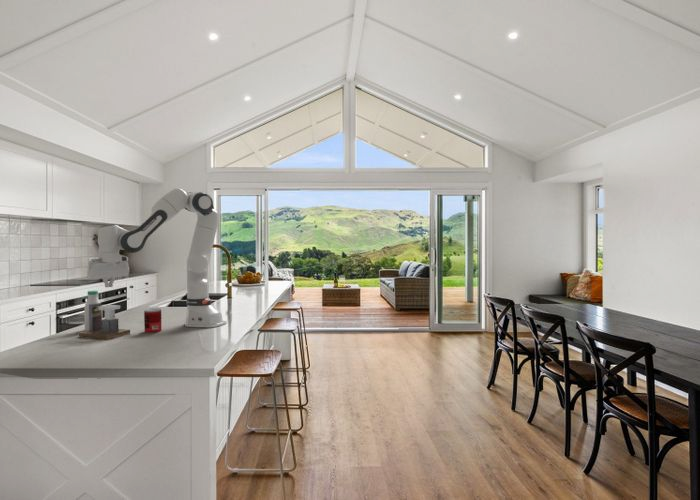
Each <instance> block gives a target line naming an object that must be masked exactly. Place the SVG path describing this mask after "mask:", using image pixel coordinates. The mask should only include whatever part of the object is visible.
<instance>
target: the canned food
mask: <svg viewBox="0 0 700 500" xmlns="http://www.w3.org/2000/svg"><path fill="white" fill-rule="evenodd" d="M143 317H144V318H143V320H144V322H143V325H144V332H145V333H147V334H151V333H152V334H155V333H160V332H161V331H162V309H161V308H157V307H155V308H147V309H144V311H143Z"/></svg>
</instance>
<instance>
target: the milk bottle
mask: <svg viewBox="0 0 700 500" xmlns="http://www.w3.org/2000/svg"><path fill="white" fill-rule="evenodd" d="M95 303H101V301H100V299H99V291H98V290H89V291H87V300H86V303H85V304H84V314H83V315H84V331H89V304H95ZM101 312H102V313H103V310H101ZM101 320H103V314H102V315H101Z"/></svg>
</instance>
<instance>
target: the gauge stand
mask: <svg viewBox="0 0 700 500" xmlns="http://www.w3.org/2000/svg"><path fill="white" fill-rule="evenodd" d="M96 306H102V303H101V302H100V303H95V304H89V331H85V330H84V331H80V332H78V338H86V339H92V340H93V339H95V340H103V341H108V340H112V339H113V340H114V339H116V338H120V337H124V336H128V335H130V334H131V329H126V328H125V329H124V328H119V318H115V319H114V320H105V318H104V319H102V320H101V315H102V316H103V311H102V312H101V310H100V311H94V309H96Z"/></svg>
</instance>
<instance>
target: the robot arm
mask: <svg viewBox="0 0 700 500" xmlns="http://www.w3.org/2000/svg"><path fill="white" fill-rule="evenodd" d="M214 207H215V206H214V201H213V198H212V196H211V195H210V194H208V193H207V192H204V191H193V192H186V191H185V190H184V189H182V188H179V187H176V188H173V189H171V190H170V191H168V192H166V193H165V194H164V195H163V196H162V197H160V198H158V200H157V201H156V202H155V203H154V205H153V206H152V207H151V213H150V215H149V216H148V218H147V219H145V221H144V222H142V223H141V225H138V227H137V228H136V229H134V230H127V229H125V228H123V227H120V226H119V225H118V224H113V223H112V224H105V225H102V226H100V228H99V229H98V232H97V233H98V234H97V244H98V250H97V258H92V259H90V260H89V261H88V267H87V274H86V276H87V278H88V279H89V280H98V279H99V280H100V279H102V282H103V283H104V287H105V288H113V287H114V282H115V280H116V278H119V277H120V278H121V277H128V276H129V274H130V265H129V262H128V261H129V257H128V256H125V255H123V254H120V250H123V251H125V252H127V253H130V254H135V253H139V252H140V251H142V250H143V248H144V246H145V245H146V243H147V242H146V241H147V240H148V238H149V237H150V236H152V234H153V233H154V232H156V230H157V229H159V228H160V227H161V226H162V225H164V224H165V223H167V222H169V221H170V220H172V219H173V218H174V217H176V216H177V215H178V214H179V213H180V212H181V211H182V210H187V211H188V212H191V213H196V215H197V221H196V223H195V228H194V232H193V236H192V240H191V244H190V248H189V249H190V250H189V253H188V256H187V258H186V286H187V288H186V293H187V294H186V296H187V298H186V307H187V308H186V314H185V320H184V321H185V322H184V325H185V327H188V328H217V327H220V326H224V325H226V324H228V321H227V320H223V314H222V312H221V311H220V310H219V309H218V308H217V307H215V306H214V305H213V303H212V302H213V301H214V299H211V298H210V295H209V294H210V292H209V290H210V288H209V264H210V261H211V256H212V252H213V247H214V242H215V238H216V234H217V230H218V225H219V213H218V211H217V210H216V209H215V208H214Z"/></svg>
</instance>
